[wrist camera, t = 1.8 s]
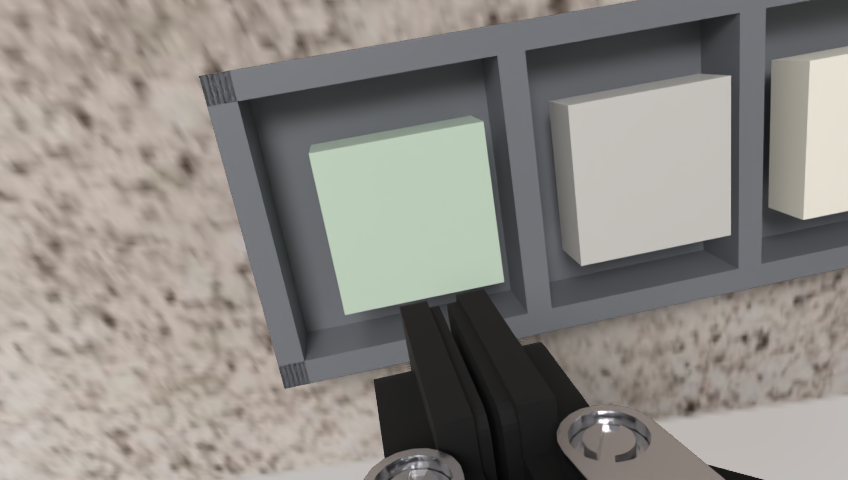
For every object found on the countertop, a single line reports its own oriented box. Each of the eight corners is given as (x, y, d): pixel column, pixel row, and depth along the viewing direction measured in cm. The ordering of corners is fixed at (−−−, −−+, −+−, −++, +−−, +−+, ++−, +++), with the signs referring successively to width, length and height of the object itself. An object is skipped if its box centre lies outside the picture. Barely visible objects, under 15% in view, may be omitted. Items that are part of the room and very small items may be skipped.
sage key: (471, 115, 22) (483, 121, 20) (491, 264, 24) (504, 281, 22) (311, 144, 22) (308, 153, 20) (344, 294, 24) (345, 315, 22)
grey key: (698, 73, 23) (730, 75, 21) (701, 221, 25) (730, 235, 23) (548, 101, 23) (567, 105, 21) (562, 249, 24) (581, 266, 23)
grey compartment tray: (909, -47, 26) (1019, -66, 22) (886, 212, 30) (976, 239, 26) (223, 71, 24) (198, 75, 20) (292, 337, 28) (284, 388, 24)
